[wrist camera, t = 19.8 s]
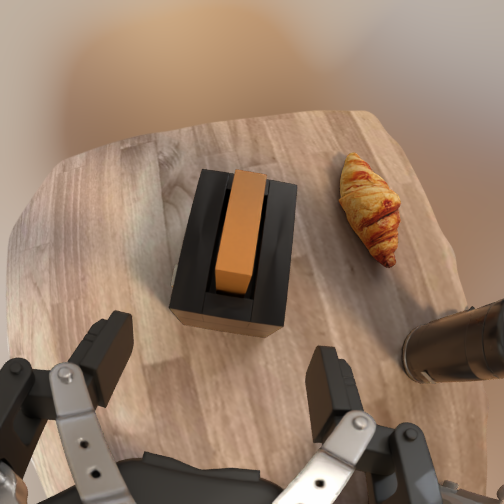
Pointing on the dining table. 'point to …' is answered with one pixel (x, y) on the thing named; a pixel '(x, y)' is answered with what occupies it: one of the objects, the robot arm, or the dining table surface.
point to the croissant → (370, 209)
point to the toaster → (466, 495)
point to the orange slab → (240, 234)
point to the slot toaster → (206, 252)
